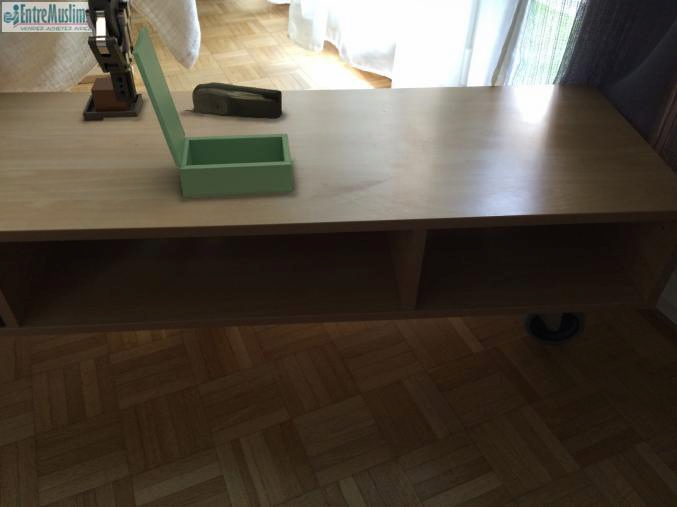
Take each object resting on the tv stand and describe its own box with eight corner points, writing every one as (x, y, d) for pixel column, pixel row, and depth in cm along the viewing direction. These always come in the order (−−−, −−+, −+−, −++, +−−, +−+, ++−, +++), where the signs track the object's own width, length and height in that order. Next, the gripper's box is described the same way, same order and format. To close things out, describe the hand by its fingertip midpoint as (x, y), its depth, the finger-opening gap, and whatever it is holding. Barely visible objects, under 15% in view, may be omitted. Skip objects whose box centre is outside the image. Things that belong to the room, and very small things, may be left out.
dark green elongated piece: (282, 86, 93) (185, 78, 93) (279, 94, 91) (179, 86, 91) (282, 116, 96) (188, 108, 96) (280, 125, 94) (183, 117, 94)
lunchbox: (288, 164, 84) (287, 133, 81) (292, 196, 78) (291, 164, 75) (188, 168, 83) (183, 137, 80) (184, 202, 77) (178, 168, 74)
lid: (146, 26, 71) (141, 27, 71) (137, 52, 64) (132, 53, 64) (185, 134, 80) (180, 135, 80) (180, 165, 73) (176, 166, 73)
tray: (85, 123, 92) (82, 113, 91) (92, 104, 97) (90, 95, 96) (138, 121, 93) (136, 111, 92) (143, 102, 98) (141, 93, 97)
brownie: (97, 117, 93) (90, 90, 90) (102, 104, 96) (96, 77, 93) (127, 116, 93) (121, 89, 91) (131, 103, 97) (125, 77, 94)
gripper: (67, -78, 65) (103, 77, 76) (36, -47, 55) (82, 127, 66) (139, -78, 66) (164, 75, 77) (121, -48, 56) (154, 124, 67)
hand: (126, 99), depth 72 cm, fingers closed
